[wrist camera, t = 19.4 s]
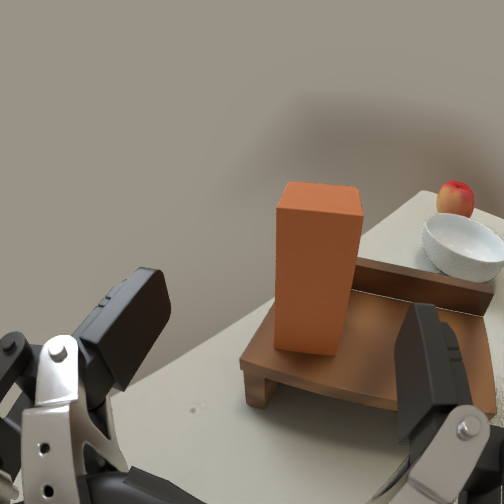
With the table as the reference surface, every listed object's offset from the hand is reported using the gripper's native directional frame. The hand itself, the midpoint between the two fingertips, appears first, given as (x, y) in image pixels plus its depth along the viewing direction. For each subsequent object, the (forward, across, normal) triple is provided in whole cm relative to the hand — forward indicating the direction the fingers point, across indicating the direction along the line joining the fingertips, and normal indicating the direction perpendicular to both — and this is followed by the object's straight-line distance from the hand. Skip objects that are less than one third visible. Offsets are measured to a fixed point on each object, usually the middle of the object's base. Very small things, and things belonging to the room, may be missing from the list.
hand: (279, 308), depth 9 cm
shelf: (+11, -8, +20) cm, 25 cm away
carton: (+11, -1, +12) cm, 17 cm away
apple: (+58, -32, +21) cm, 69 cm away
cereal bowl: (+37, -27, +21) cm, 50 cm away
